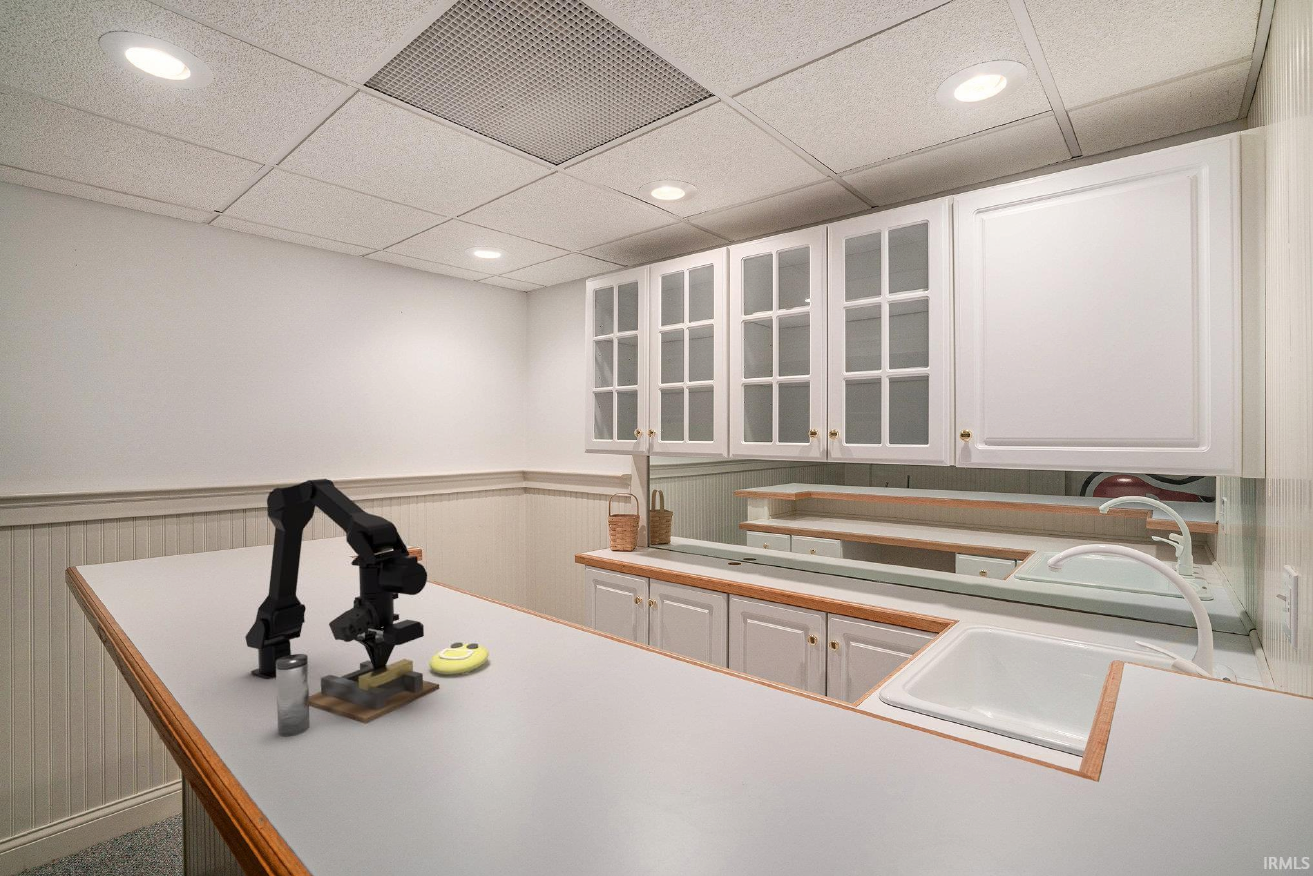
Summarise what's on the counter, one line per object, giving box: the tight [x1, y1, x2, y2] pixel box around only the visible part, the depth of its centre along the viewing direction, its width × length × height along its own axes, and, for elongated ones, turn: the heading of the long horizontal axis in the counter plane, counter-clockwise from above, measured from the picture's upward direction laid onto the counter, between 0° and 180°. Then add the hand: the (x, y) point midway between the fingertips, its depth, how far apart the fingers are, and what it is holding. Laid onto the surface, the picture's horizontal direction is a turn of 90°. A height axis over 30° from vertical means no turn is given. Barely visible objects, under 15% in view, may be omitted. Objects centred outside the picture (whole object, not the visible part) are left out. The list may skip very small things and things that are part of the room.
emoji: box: [428, 642, 490, 675], centre depth 132 cm, size 4×12×12 cm
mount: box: [309, 659, 440, 724], centre depth 118 cm, size 18×16×4 cm
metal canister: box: [275, 653, 311, 737], centre depth 105 cm, size 5×5×12 cm
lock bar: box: [359, 658, 414, 690], centre depth 116 cm, size 2×10×2 cm, turn 151°
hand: (379, 672), depth 117 cm, fingers closed
